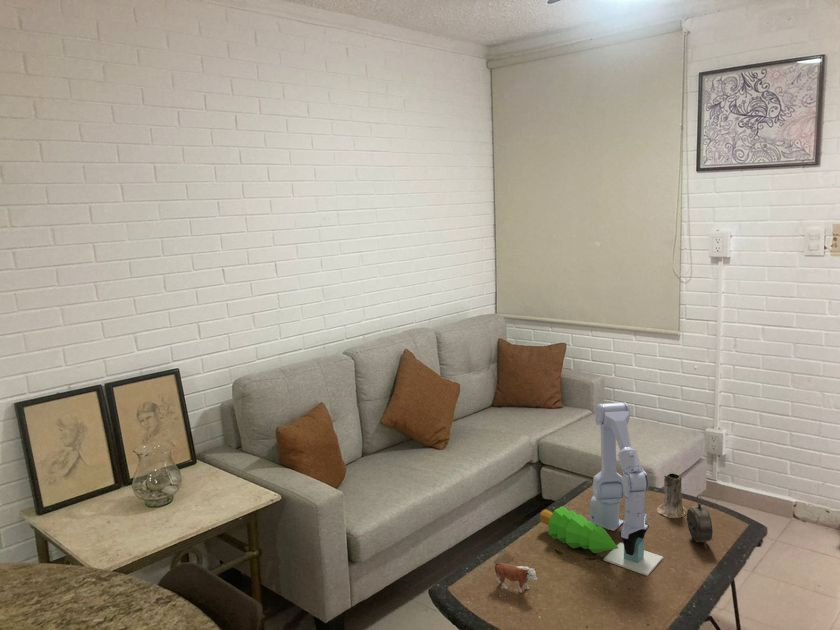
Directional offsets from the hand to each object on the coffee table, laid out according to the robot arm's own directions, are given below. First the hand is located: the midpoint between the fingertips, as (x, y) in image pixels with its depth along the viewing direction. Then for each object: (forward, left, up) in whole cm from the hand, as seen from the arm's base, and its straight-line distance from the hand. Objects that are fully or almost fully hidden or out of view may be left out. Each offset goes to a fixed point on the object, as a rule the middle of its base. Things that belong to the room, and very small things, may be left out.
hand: (633, 549), depth 207 cm
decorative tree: (-17, -4, -3) cm, 18 cm away
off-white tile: (0, 0, -3) cm, 3 cm away
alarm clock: (+12, +22, -3) cm, 25 cm away
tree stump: (-2, +37, -3) cm, 37 cm away
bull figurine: (-20, -35, -3) cm, 40 cm away
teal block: (0, 0, -3) cm, 3 cm away
